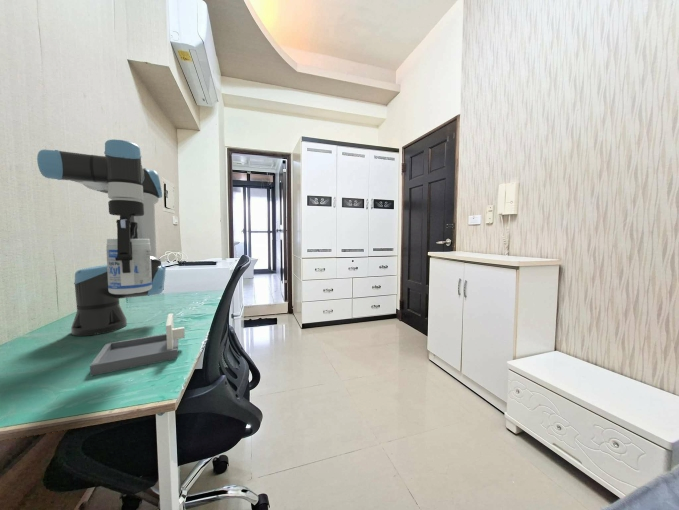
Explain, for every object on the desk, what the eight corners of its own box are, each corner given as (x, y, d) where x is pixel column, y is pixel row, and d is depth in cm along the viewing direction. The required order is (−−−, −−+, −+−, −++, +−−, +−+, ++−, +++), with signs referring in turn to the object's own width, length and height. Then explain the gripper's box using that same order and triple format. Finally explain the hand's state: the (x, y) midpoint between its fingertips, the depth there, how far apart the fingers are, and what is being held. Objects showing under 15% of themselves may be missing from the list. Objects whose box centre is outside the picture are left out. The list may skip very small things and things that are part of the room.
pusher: (169, 338, 85) (168, 313, 84) (184, 335, 87) (183, 311, 87) (167, 354, 73) (165, 325, 73) (185, 350, 76) (183, 323, 75)
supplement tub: (105, 297, 67) (101, 238, 66) (111, 290, 75) (108, 238, 74) (152, 292, 73) (149, 238, 72) (153, 287, 81) (150, 238, 80)
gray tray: (107, 351, 78) (106, 343, 78) (178, 339, 87) (178, 331, 87) (90, 375, 65) (89, 365, 64) (177, 358, 74) (176, 349, 73)
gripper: (117, 204, 80) (122, 278, 82) (96, 194, 61) (103, 290, 62) (148, 205, 84) (151, 276, 85) (137, 196, 65) (142, 287, 66)
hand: (131, 282), depth 74 cm, fingers closed on supplement tub, 9 cm apart
